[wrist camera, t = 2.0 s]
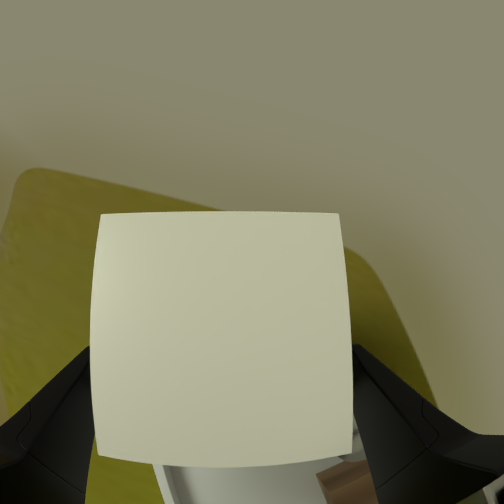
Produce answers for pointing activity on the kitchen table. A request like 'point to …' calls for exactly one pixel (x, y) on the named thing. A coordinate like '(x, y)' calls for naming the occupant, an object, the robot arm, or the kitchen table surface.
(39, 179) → the kitchen table surface
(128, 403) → the white lidded box
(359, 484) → the walnut block
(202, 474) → the parts tray
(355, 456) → the chrome steel ball
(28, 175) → the kitchen table surface
